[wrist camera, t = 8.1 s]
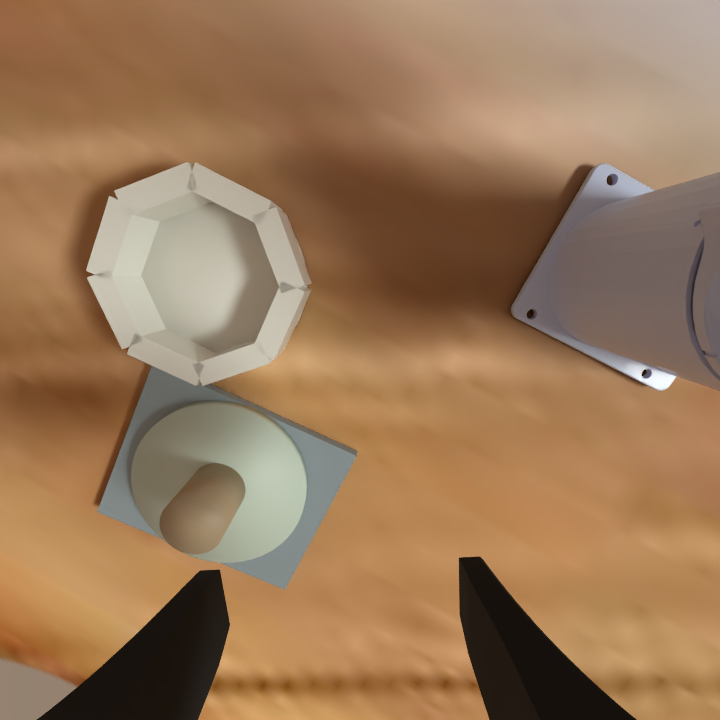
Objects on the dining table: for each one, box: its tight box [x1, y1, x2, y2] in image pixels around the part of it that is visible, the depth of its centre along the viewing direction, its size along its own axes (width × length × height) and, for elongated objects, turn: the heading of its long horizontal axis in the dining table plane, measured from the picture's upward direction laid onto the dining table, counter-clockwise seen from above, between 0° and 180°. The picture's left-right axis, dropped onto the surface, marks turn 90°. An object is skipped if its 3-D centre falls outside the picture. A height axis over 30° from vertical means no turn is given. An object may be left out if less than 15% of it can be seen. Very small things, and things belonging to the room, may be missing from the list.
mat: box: [97, 366, 357, 590], centre depth 22 cm, size 12×10×1 cm
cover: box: [131, 401, 308, 563], centre depth 19 cm, size 10×10×4 cm
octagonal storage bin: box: [86, 162, 312, 386], centre depth 18 cm, size 9×9×3 cm
